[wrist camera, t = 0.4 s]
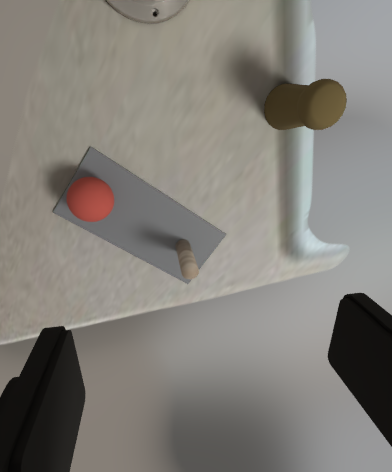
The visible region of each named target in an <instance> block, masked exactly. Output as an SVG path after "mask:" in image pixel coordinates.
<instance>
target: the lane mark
mask: <svg viewBox="0 0 392 472" xmlns="http://www.w3.org/2000/svg"><path fill="white" fill-rule="evenodd" d="M84 177H95V178H98V179H101V180H103V181H104V182H105V183H107V184H108V185H109V187H110V188H111V190H112V192H113V195H114V206H113V209H112V211H111V212H110V214H109V215H108V216H107V217H105V218H104V219H102V220H100V221H96V222H87V221H83V220H81V219H79V218H77V217H76V216H74V215H73V214H72V212H71V211H70V209H69V207H68V205H67V192H68V189H69V188H70V186H71V185H72V184H73V183H74V182H75V181H77V180H78V179H80V178H84ZM53 213H55V214H57V215H59V216H61V217H63V218H65V219H66V220H68V221H70V222H72V223H74V224H76V225H78V226H80V227H81V228H83V229H85V230H87V231H89V232H91V233H93V234H95V235H97V236H98V237H100V238H102V239H104V240H106V241H108V242H110V243H112V244H114V245H115V246H117V247H119V248H121V249H123V250H125V251H127V252H129V253H130V254H132V255H134V256H136V257H138V258H140V259H142V260H144V261H146V262H147V263H149V264H151V265H153V266H155V267H157V268H159V269H161V270H162V271H164V272H166V273H168V274H170V275H172V276H174V277H176V278H178V279H179V280H181V281H183V282H185V283H187V284H188V283H189V282H190V281H191V280H192V279H186V278H184V277H183V276H182V274H181V269H180V265H179V260H178V256H177V251H176V243H177V242H178V241H179V240H181V239H185V240H187V241H189V243H190V245H191V248H192V251H193V254H194V257H195V260H196V263H197V266H198V269H200V268H201V267H202V265H203V264H204V263H205V261H206V260H207V259H208V258H209V256H210V255H211V254H212V252H213V251H214V250H215V249H216V247H217V246H218V245H219V243H220V242H221V241H222V239H223V238H224V237H225V236H226V234H225V233H224V232H222V231H221V230H219V229H218V228H216V227H214V226H213V225H211V224H210V223H208V222H207V221H205V220H204V219H202V218H200V217H199V216H197V215H196V214H194V213H193V212H191V211H190V210H188V209H187V208H185V207H183V206H182V205H180V204H179V203H177V202H176V201H174V200H173V199H171V198H170V197H168V196H166V195H165V194H163V193H162V192H160V191H159V190H157V189H156V188H154V187H153V186H151V185H149V184H148V183H146V182H145V181H143V180H142V179H140V178H139V177H137V176H136V175H134V174H132V173H131V172H129V171H128V170H126V169H125V168H123V167H122V166H120V165H119V164H117V163H115V162H114V161H112V160H111V159H109V158H108V157H106V156H105V155H103V154H101V153H100V152H98V151H97V150H95V149H94V148H92V147H90V149H89V151H88V152H87V154H86V156H85V157H84V159H83V161H82V163H81V164H80V166H79V168H78V170H77V171H76V173H75V175H74V177H73V178H72V180H71V182H70V183H69V185H68V187H67V189H66V190H65V192H64V194H63V196H62V197H61V199H60V201H59V202H58V204H57V206H56V208H55V209H54V211H53Z"/></svg>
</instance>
